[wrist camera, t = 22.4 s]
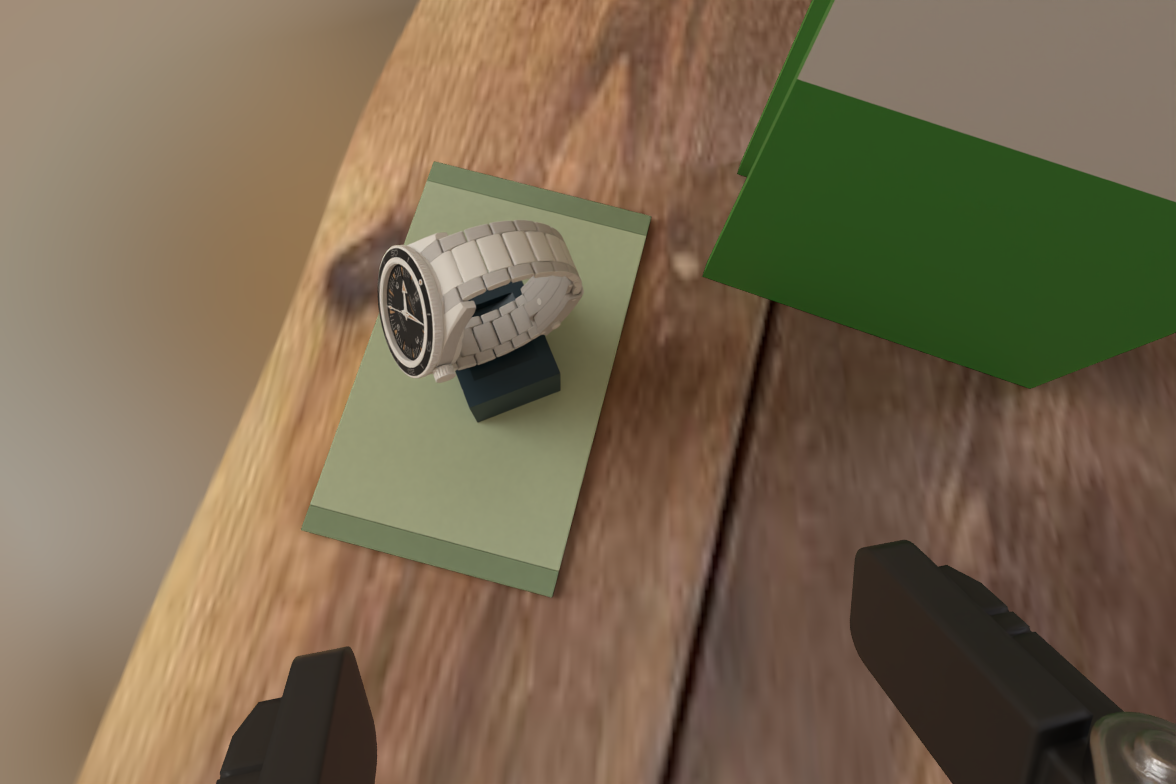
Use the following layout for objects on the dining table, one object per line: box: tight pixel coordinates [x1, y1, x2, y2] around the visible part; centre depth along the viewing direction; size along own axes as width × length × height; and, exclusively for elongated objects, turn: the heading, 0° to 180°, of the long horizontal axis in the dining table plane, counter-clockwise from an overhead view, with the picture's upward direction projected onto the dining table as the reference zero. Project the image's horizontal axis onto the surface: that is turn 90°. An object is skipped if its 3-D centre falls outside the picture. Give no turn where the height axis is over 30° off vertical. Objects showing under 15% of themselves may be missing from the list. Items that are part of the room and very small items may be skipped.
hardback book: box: [702, 0, 1176, 389], centre depth 25 cm, size 18×7×24 cm, turn 70°
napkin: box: [301, 162, 651, 597], centre depth 34 cm, size 20×12×1 cm, turn 165°
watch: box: [378, 220, 584, 423], centre depth 29 cm, size 6×8×11 cm
